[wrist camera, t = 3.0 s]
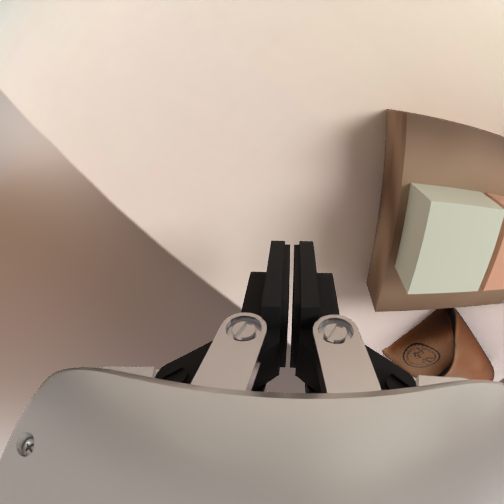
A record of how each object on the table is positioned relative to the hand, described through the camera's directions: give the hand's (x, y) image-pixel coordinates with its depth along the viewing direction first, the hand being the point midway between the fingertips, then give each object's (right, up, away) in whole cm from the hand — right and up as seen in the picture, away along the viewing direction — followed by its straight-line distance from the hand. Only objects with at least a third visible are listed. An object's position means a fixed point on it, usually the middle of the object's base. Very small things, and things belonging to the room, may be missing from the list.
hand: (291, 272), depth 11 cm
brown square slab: (+12, +4, +4) cm, 13 cm away
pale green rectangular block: (+9, +2, +1) cm, 9 cm away
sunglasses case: (+20, -10, +12) cm, 25 cm away
